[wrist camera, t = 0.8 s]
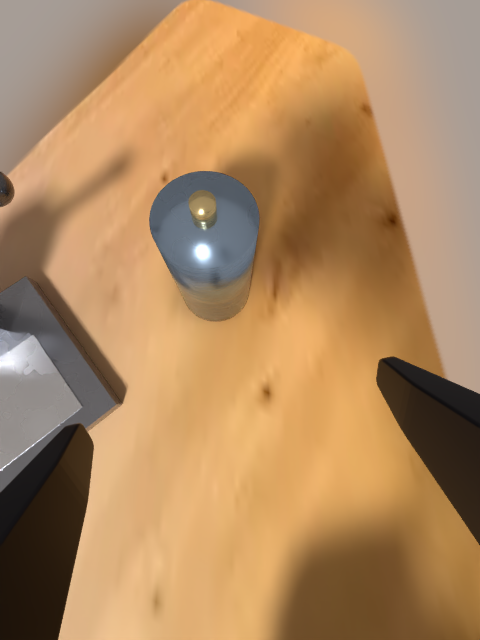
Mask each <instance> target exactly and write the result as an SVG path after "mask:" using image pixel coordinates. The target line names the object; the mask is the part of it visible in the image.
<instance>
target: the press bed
mask: <svg viewBox="0 0 480 640" xmlns="http://www.w3.org/2000/svg"><path fill="white" fill-rule="evenodd" d="M13 197H14V187H13V184H12V182H11V181H10V179H9V178H8V177H7V176H6V175H5V174H3V173H2V172H0V207H3V206H6V205H7V204H9V203H10V202H11V201H12V199H13ZM121 405H122V403H121V401H120V400H119V399H118V397H117V396H116V394H115V393H114V392H113V390H112V389H111V387H110V386H109V384H108V383H107V382H106V380H105V379H104V377H103V376H102V375H101V373H100V372H99V370H98V369H97V368H96V366H95V365H94V363H93V362H92V361H91V359H90V358H89V356H88V355H87V353H86V352H85V351H84V349H83V348H82V346H81V345H80V344H79V342H78V341H77V339H76V338H75V337H74V335H73V334H72V332H71V331H70V329H69V328H68V327H67V325H66V324H65V322H64V321H63V320H62V318H61V317H60V315H59V314H58V313H57V311H56V310H55V308H54V307H53V305H52V304H51V303H50V301H49V300H48V298H47V297H46V296H45V294H44V293H43V291H42V290H41V289H40V287H39V286H38V284H37V283H36V282H35V281H33V280H32V279H30V278H28V277H26V276H25V277H24V278H22V279H21V280H19V281H18V282H16V283H15V284H13V285H12V286H10V287H9V288H7V289H5V290H4V291H2V292H1V293H0V492H1V491H2V490H3V489H4V488H5V487H6V486H7V485H8V484H9V483H10V482H11V481H12V480H13V479H14V478H15V477H16V476H17V475H18V474H19V473H20V472H21V471H22V470H23V469H24V468H25V467H26V466H27V465H28V464H29V462H30V461H31V460H32V459H33V458H34V457H35V456H36V455H37V454H38V453H39V452H40V451H41V450H42V449H43V448H44V447H45V446H46V445H47V444H48V443H49V442H50V441H51V440H52V439H53V438H54V437H55V436H56V435H57V434H58V433H59V432H60V431H61V430H62V429H63V428H64V427H65V426H67V425H71V424H76V423H81V424H83V426H84V427H85V429H86V430H87V432H88V431H89V430H90V429H92V428H93V427H94V426H95V425H97V424H98V423H99V422H100V421H102V420H103V419H104V418H106V417H107V416H108V415H109V414H111V413H112V412H113V411H114V410H116V409H117V408H118V407H120V406H121Z"/></svg>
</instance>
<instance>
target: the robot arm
mask: <svg viewBox="0 0 480 640" xmlns="http://www.w3.org/2000/svg"><path fill="white" fill-rule="evenodd" d="M376 381H377V385H378V387H379V389H380V391H381V393H382V395H383V397H384V398H385V400H386V402H387V404H388V406H389V408H390V410H391V411H392V413H393V415H394V417H395V419H396V421H397V423H398V424H399V426H400V428H401V430H402V431H403V433H404V434H405V436H406V437H407V439H408V440H409V442H410V443H411V445H412V446H413V448H414V449H415V451H416V452H417V453H418V455H419V456H420V458H421V459H422V461H423V462H424V464H425V465H426V467H427V468H428V470H429V471H430V473H431V474H432V476H433V477H434V478H435V480H436V481H437V483H438V484H439V486H440V487H441V489H442V490H443V492H444V493H445V495H446V496H447V498H448V499H449V501H450V502H451V503H452V505H453V506H454V508H455V509H456V511H457V512H458V514H459V515H460V517H461V518H462V520H463V521H464V523H465V524H466V526H467V527H468V528H469V530H470V531H471V533H472V534H473V536H474V537H475V539H476V540H477V542H478V543H479V545H480V394H478V393H476V392H474V391H472V390H469V389H467V388H465V387H462V386H460V385H458V384H456V383H453V382H451V381H449V380H446V379H444V378H442V377H440V376H437V375H435V374H433V373H430V372H428V371H426V370H424V369H421V368H419V367H417V366H414V365H412V364H410V363H408V362H405V361H403V360H401V359H398V358H396V357H387V358H382V359H380V360H379V363H378V370H377V377H376ZM93 451H94V445H93V441H92V439H91V437H90V436H89V434H88V432H87V430H86V429H85V427H84V426H83V424H81V423H76V424H71V425H67V426H65V427H64V428H63V429H62V430H61V431H60V432H59V433H58V434H57V435H56V436H55V437H54V438H53V439H52V440H51V441H50V442H49V443H48V444H47V445H46V446H45V447H44V448H43V449H42V450H41V451H40V452H39V453H38V454H37V455H36V456H35V457H34V458H33V459H32V460H31V461H30V462H29V464H28V465H27V466H26V467H25V468H24V469H23V470H22V471H21V472H20V473H19V474H18V475H17V476H16V477H15V478H14V479H13V480H12V481H11V482H10V483H9V484H8V485H7V486H6V487H5V488H4V489H3V490H2V491H1V492H0V640H58V637H59V633H60V628H61V624H62V619H63V614H64V610H65V605H66V601H67V596H68V591H69V587H70V582H71V578H72V573H73V568H74V564H75V559H76V555H77V550H78V545H79V541H80V536H81V532H82V527H83V522H84V518H85V513H86V508H87V503H88V496H89V488H90V478H91V469H92V460H93Z"/></svg>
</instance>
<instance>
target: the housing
mask: <svg viewBox="0 0 480 640" xmlns="http://www.w3.org/2000/svg"><path fill="white" fill-rule="evenodd" d="M149 221H150V230H151V234H152V237H153V239H154V241H155V243H156V245H157V247H158V249H159V251H160V253H161V255H162V257H163V259H164V261H165V263H166V265H167V267H168V269H169V271H170V273H171V274H172V276H173V278H174V280H175V282H176V284H177V286H178V288H179V290H180V292H181V294H182V296H183V298H184V300H185V302H186V304H187V306H188V308H189V309H190V310H191V311H192V312H193V313H194V314H195V315H196V316H198V317H200V318H202V319H204V320H207V321H216V322H217V321H224V320H227V319H230V318H232V317H234V316H235V315H237V314H238V313H239V312H240V311H241V310H242V309H243V307H244V306H245V304H246V302H247V299H248V294H249V288H250V281H251V275H252V268H253V262H254V255H255V248H256V242H257V235H258V228H259V210H258V207H257V204H256V201H255V199H254V197H253V196H252V194H251V193H250V191H249V190H248V189H247V188H246V187H245V186H244V185H243V184H242V183H240V182H239V181H237V180H236V179H234V178H232V177H230V176H228V175H225V174H222V173H218V172H212V171H198V172H192V173H188V174H185V175H183V176H180V177H178V178H176V179H174V180H173V181H171V182H170V183H168V184H167V185H166V186H165V187H164V188H163V189H162V190H161V191H160V192H159V194H158V195H157V197H156V198H155V200H154V202H153V205H152V207H151V211H150V218H149Z"/></svg>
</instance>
